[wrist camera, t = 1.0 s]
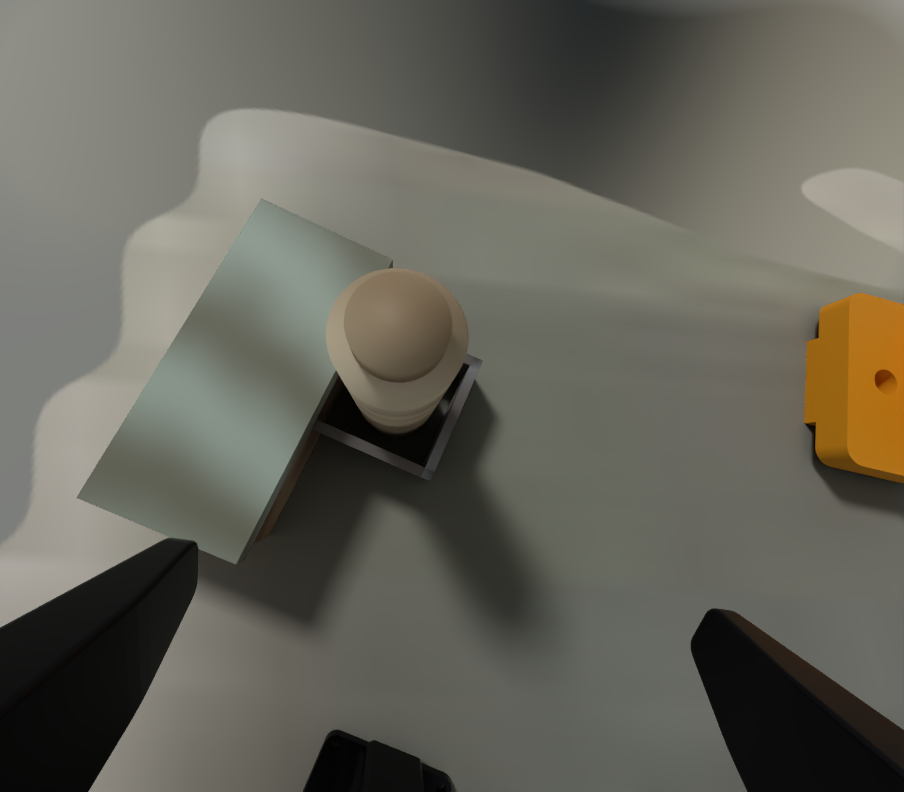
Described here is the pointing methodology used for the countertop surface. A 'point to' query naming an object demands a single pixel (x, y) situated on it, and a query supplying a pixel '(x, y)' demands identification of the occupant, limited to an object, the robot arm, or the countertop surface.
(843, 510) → the countertop surface
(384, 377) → the wooden pepper mill
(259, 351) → the green slab with socket
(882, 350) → the bracket
